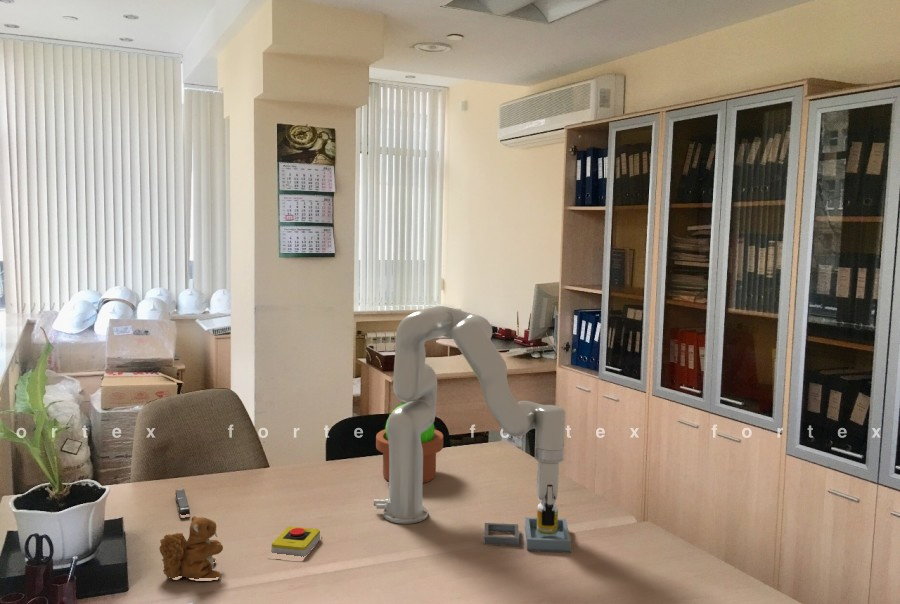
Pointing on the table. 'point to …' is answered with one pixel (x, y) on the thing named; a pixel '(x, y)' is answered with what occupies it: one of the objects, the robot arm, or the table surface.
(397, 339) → the robot arm
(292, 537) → the emergency button
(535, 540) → the tray
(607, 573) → the table surface
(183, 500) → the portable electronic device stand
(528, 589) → the table surface
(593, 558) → the table surface
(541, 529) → the supplement bottle
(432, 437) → the potted cactus
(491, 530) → the cradle
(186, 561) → the stuffed squirrel
